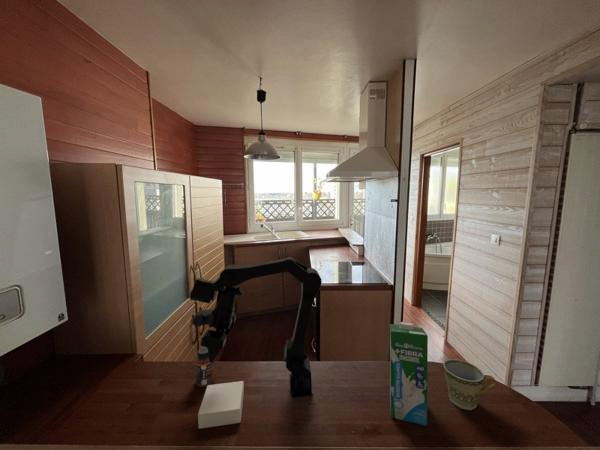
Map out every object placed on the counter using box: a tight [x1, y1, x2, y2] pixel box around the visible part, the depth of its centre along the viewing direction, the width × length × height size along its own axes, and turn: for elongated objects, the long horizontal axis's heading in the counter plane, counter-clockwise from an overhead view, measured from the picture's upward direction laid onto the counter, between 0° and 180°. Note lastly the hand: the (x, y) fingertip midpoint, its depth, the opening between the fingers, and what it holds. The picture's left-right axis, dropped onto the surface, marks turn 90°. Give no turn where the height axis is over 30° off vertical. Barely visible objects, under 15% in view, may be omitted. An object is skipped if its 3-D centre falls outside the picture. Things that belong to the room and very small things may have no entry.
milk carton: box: [389, 321, 429, 427], centre depth 69 cm, size 9×9×25 cm
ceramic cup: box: [443, 358, 497, 411], centre depth 71 cm, size 13×10×10 cm
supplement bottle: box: [195, 346, 216, 388], centre depth 82 cm, size 6×6×11 cm
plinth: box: [197, 380, 245, 429], centre depth 71 cm, size 11×11×4 cm
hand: (215, 352), depth 76 cm, fingers open, 9 cm apart
